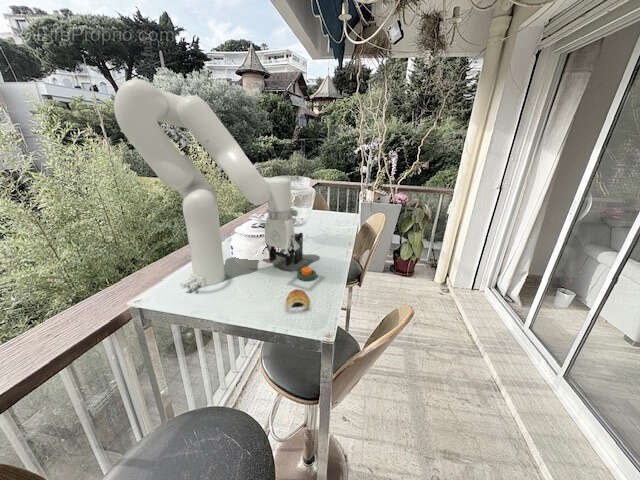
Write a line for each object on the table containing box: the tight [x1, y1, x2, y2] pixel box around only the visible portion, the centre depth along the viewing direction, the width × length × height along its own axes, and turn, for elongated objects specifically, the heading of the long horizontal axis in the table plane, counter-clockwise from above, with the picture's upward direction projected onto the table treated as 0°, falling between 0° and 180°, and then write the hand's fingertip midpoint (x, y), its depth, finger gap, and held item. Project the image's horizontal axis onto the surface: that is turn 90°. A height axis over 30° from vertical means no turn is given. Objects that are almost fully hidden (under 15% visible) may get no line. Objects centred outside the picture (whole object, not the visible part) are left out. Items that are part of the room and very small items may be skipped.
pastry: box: [286, 288, 310, 311], centre depth 79 cm, size 9×7×4 cm
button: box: [301, 266, 313, 276], centre depth 92 cm, size 4×4×2 cm
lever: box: [272, 232, 298, 259], centre depth 98 cm, size 12×6×2 cm, turn 152°
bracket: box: [288, 232, 304, 265], centre depth 103 cm, size 12×9×13 cm
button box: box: [296, 268, 317, 283], centre depth 92 cm, size 10×8×3 cm
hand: (280, 262), depth 96 cm, fingers open, 6 cm apart
